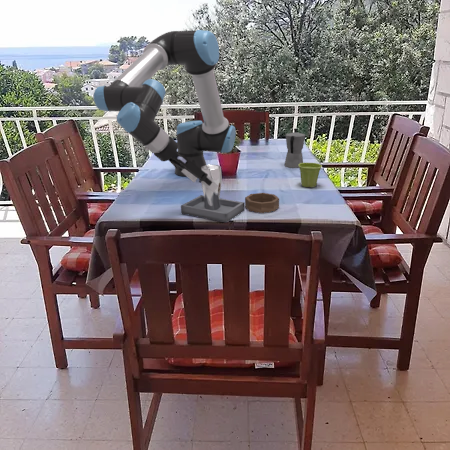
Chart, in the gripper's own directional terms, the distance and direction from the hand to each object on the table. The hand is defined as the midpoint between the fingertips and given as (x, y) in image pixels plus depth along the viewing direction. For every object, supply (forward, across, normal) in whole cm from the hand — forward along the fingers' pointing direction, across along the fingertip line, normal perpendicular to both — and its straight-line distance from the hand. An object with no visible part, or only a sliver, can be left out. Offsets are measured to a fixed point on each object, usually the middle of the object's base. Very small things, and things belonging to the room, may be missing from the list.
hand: (205, 184), depth 145 cm
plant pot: (+44, -6, +29) cm, 53 cm away
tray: (+10, 0, -6) cm, 11 cm away
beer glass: (+9, -1, -5) cm, 10 cm away
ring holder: (+22, +5, +7) cm, 23 cm away
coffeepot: (+55, -34, +39) cm, 76 cm away
